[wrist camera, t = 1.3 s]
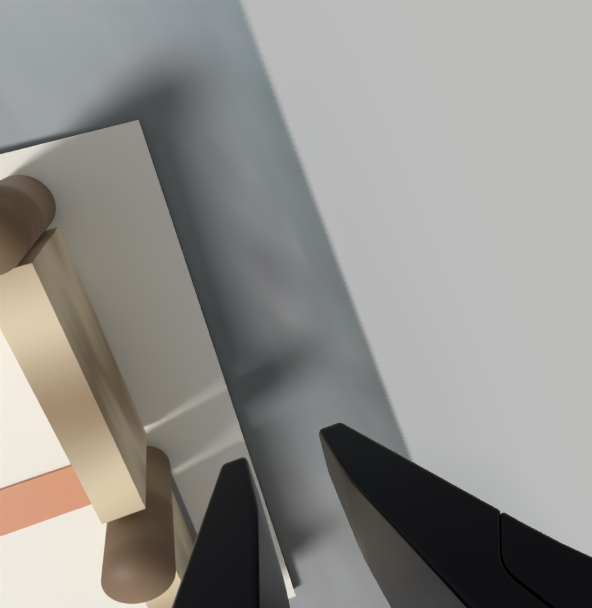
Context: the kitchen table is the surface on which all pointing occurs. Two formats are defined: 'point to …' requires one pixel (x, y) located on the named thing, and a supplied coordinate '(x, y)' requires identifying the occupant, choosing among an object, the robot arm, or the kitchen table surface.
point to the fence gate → (84, 394)
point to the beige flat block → (176, 557)
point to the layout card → (130, 360)
